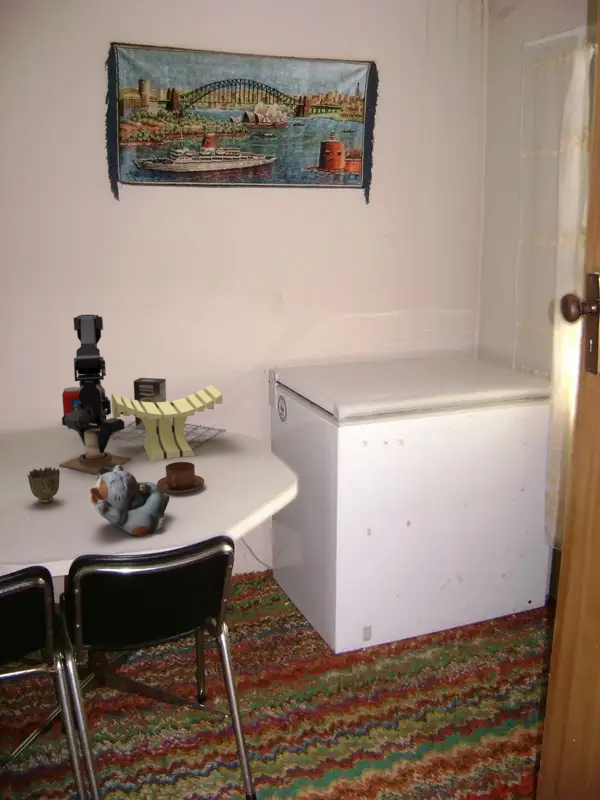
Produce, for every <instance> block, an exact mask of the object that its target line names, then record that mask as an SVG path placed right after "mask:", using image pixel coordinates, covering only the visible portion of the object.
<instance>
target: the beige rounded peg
mask: <svg viewBox="0 0 600 800" xmlns="http://www.w3.org/2000/svg"><path fill="white" fill-rule="evenodd" d="M96 431H99V429H89V430H86V431H84V437H85V446H84V450H85V453H86V459H87V460H98V459H103V458H104V452H105V451H104V452H103V453H100V451H99V444H98V436H97V435H96V434H95V433H94V432H96Z"/></svg>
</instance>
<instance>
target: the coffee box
mask: <svg viewBox="0 0 600 800" xmlns="http://www.w3.org/2000/svg"><path fill="white" fill-rule="evenodd" d="M166 380H167V379H166V378H157V377H156V378H155V377H152V378H151V377H139V378H136V379H135V380H133V395H134V396H133V397H134V398H133V400H137V401H138V402H139V404H140V405H141V402H153V403H154V404H156V402H167V389H166V387H167V384H166ZM134 419H135V429H139V430H140V429H141V430H146V429H145V426H144V423H143V421H142V419H141V417H140V418H138V417H134ZM156 427H157V419H156Z"/></svg>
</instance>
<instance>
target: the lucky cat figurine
mask: <svg viewBox="0 0 600 800" xmlns="http://www.w3.org/2000/svg"><path fill="white" fill-rule="evenodd" d="M98 472H99V474H97V480H96V483H95V485H94V487H92V488H90V490H89V492H90V502H91V503H92V505H93V506H94V508H95V511H96V512H97V513H98V514H99V515H100V516H101V517H102V518H104V519H106V520H107V521H108V522H109V525H113V526H116V527H117V528H120V529H123V530H124V531H125V532H127V533H129V534H130V535H132V536H135V537H143V536H147V535H152V534H154V533H155V532H157V531H159V529H161V528H162V526H163V524H164V522H165V511H166V509H167V506H168V505H169V502H170V494H168V493H164V491H163V490H161V489H160V487H159V486H158V485H157V483H154V482H151V481H143V482H138V481H137V479H136V477H135V475H134V474H132V473H131V472H129V471H125V470H124V468H123V467H122V465H117V466H115V467H114V468H113V470H112V469H109V470H108V469H105V468H99V469H98Z"/></svg>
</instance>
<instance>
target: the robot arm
mask: <svg viewBox="0 0 600 800" xmlns="http://www.w3.org/2000/svg"><path fill="white" fill-rule="evenodd" d="M73 330H74V332H76V334H77V339H78V340H79V341H80V347H78V349H76V352H75V353H76V356H75V357H74V358H73V369H74V370H73V372H74V382H78V383H79V388H80V389H79V400H80V402H78V404H77V409H76V410H75V411H73V412H71V413H68V414H65V415H64V414H63V416H62V418H61V425H62V426H67V429H69V430H74V432H76V433H77V434H78V435H79V437H80V439H81V441H82V444H83V445H84V447H85V437H84V431H86V430H89V429H99V431H96V432H94V433H95V434H96V435H97V436H98V444H99V451H100V453H103V452H105V450H106V448H107V446H108V443H109V441H110V438H111V437H112V434H114V433H116V432H119V431H122V430H125V421H124V420H123V419H121V418H118V417H117V418H114V417H111V418H108V419H107V416H110V415H111V414H112V403H111V400H110V399H109V397H108V396H106V390H105V388H104V387H103V386H102V382H101V381H104V379H105V377H106V375H107V373H106V360H105V359H104V356H101V354H100V353H101V352H100V351H101V350H100V349H99V348H98V343H99V342H100V340H101V338H102V331H104V320H103V316H99V315H98V314H81V315H77V316H75V317H73Z"/></svg>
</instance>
